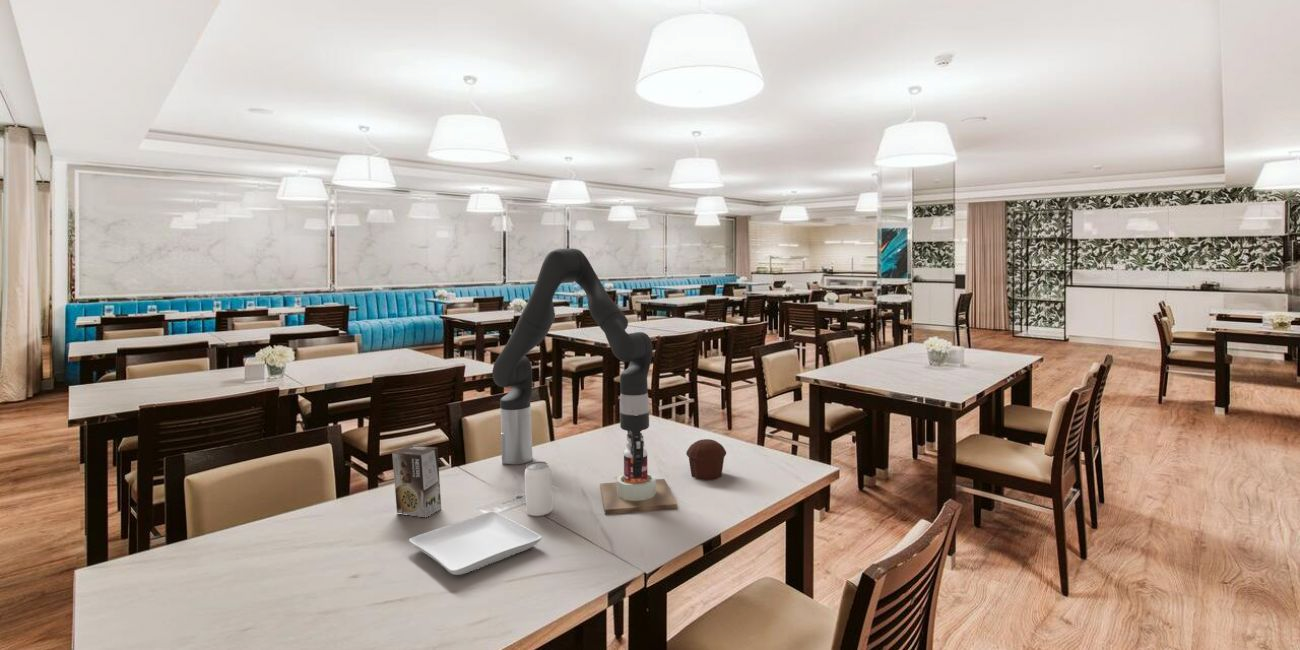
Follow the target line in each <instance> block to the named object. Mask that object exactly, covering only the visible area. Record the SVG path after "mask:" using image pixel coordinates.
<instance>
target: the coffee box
mask: <svg viewBox="0 0 1300 650" xmlns="http://www.w3.org/2000/svg"><path fill="white" fill-rule="evenodd" d="M391 454H392V469H393V477H394V478H393V479H394V481H393V482H394V491H395V492H394V493H395V494H394V495H395V503H396V504H395V505H396V514H397V513H402V514H407V515H413V516H419V517H418V518H420V517H425V518H424V519H427V518H429V517H430V516H432V515H434V514H436V513H437V512H439V511H441V510H442V501H441V500H442V499H441V497H442V495H441V483H440V468H439V466H440V465H439V464H440V463H439V448H438V447H433V446H421V445H407V446H404V447H402V448H400V449H398V450H395V451H394V452H392V453H391ZM440 509H441V510H440ZM438 510H439V511H438ZM436 511H437V512H436ZM435 512H436V513H435ZM433 513H434V514H433ZM431 514H432V515H431ZM428 516H429V517H428ZM426 517H427V518H426Z"/></svg>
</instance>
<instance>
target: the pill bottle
mask: <svg viewBox="0 0 1300 650" xmlns="http://www.w3.org/2000/svg"><path fill="white" fill-rule="evenodd" d="M625 442H626V449H625V450H624V451H623V474H624V482H625V483H628V484H643V483H646V482H647V480H648V473H649V472H648V451H647V449H646V448H645V443H644V444H643V451H644V452H643V460H644V462H643V463H642V477H641V478H634V477H633V462H632V455H631V454H630V448H629V443H628V441H627V440H626V441H625ZM632 450H633V449H632ZM638 458H640V455H636V459H638Z"/></svg>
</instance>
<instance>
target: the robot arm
mask: <svg viewBox="0 0 1300 650" xmlns="http://www.w3.org/2000/svg"><path fill="white" fill-rule="evenodd" d="M573 282H575V283H576V284H578V285H579V286H580V288H581V289H582V290H583V291H584V293H585V295H586V300H587V306H588V311H589V314H590V315H591V317H592V319H593V320H594V321H595V323H596V324H597V325H598V326H599V328H600V329H601V330H602V332H604V335H605V337H606V340H607V343H608V345H609V347H610V349H611V352H612V354H613V356H615V357H616V358H617V359H618V360H620V361H622V362H625V363H629V364H628V367H627V368H626V369H624V370H623V371H622V372H621V373H620V376H619V383H620V384H619V386H620V388H619V389H620V396H619V397H620V398H619V421H620V422H619V426H620V428H621V430H624V431H626V432H627V433H626V442H627V441H628V443H629V448H630V454H631V455H632V462H633V477H634V478H641V477H642V463H643V462H644V460H643V452H644V451H643V444H644V445H645V440H644V435H643V433H642V431H645V430H647V429H649V427H650V401H649V392H648V390H649V389H648V375H649V372H650V367H651V363H652V359H653V357H652V356H653V353H654V352H653V350H654V349H653V348H654V346H653V342H652V339H651V338H650V336H649V335H648V334H647V333H646V332H644V331H639V332H638V331H637V332H631V333H628V332H627V331H626V329H627V328H628V325H629V320H628V318H627V317H626V315H625V314H624V312H623V311H622V310H621V309H620V307H618V305H617V304H616V303H615V302H614V300H613V299H612V298H611V297H610V295H609V294H608V292H607V290H606V289H605V287H604V285H603V284H602V282H601V280H600V278H599V277H598V275H597V274H596V271H595V270H594V268H593V267H592V264H591V263H590V261H589V259H588V257H586V255H585V254H584V253H583V251H582V250H580V249H577V248H554V249H552V250H550V251H549V252H548V253H547V254H546V255H545V257H544V259H543V262H542V264H541V267H540V270H539V273H538V277H537V279H536V282H535V285H534V286H533V289H532V291H531V294H530V296H529V298H528V300H527V303H526V305H525V307H524V308H523V310H522V312H521V313H520V316H519V318H518V321H517V323H516V325H515V328H514V329H513V332H512V333H511V335H510V337H509V339H508V341H507V342H506V344H505V346H504V347H503V349H501V350H502V351H501V352H500V353H499V355H498V356H497V358H496V360H495V362H494V364H493V367H492V372H491V373H492V374H491V375H492V380H493V382H494V384H495V385H497V386H498V387H500V388H508V387H509V388H510V387H511V388H510V390H509V391H508V393H506V394H505V395H504V396H502V397H501V398H500V399H499V400H500V401H499V406H500V407H499V409H500V426H501V427H500V429H501V430H500V431H501V433H500V449H501V452H500V453H501V464H503V465H507V464H508V465H522V464H528V463H530V462H531V461H532V460H533V439H532V437H533V435H532V414H531V413H532V412H531V400H532V396H533V367H532V363H531V361H530V359H529V357H527V356H526V355H527V354H528V353H529V352H530V351H532V350H533V349H535V347H536V346H538V345H539V344H540V343H541V342H542V341H543V340H544V339H545V338H546V336H547V334H548V333H549V331H550V329H551V327H552V326H553V324H554V321H555V315H556V313H555V312H556V311H555V306H554V301H553V299H554V296H555V293H556V292H557V289H559V286H560V285H562V283H573ZM632 449H633V450H632ZM636 455H640V458H638V459H636Z"/></svg>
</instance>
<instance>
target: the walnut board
mask: <svg viewBox="0 0 1300 650" xmlns="http://www.w3.org/2000/svg"><path fill="white" fill-rule="evenodd" d="M599 489H600V494H601V500H602V506H603V510H604V515H614V514H615V515H616V514H617V515H618V514H627V513H640V512H651V511H652V512H654V511H663V510H664V511H666V510H676V509H678V503H677V501H676V499H675V497H674V495H673V493H672V491H671V489H670V487H669V485H668V483H667V481H666V479H665V478H658V479H656V495H655V496H654V497H653V498H650V499H647V500H641V501H630V500H624V499H622V498H620V497H618V494H617V481H616V482H603V483H599Z"/></svg>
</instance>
